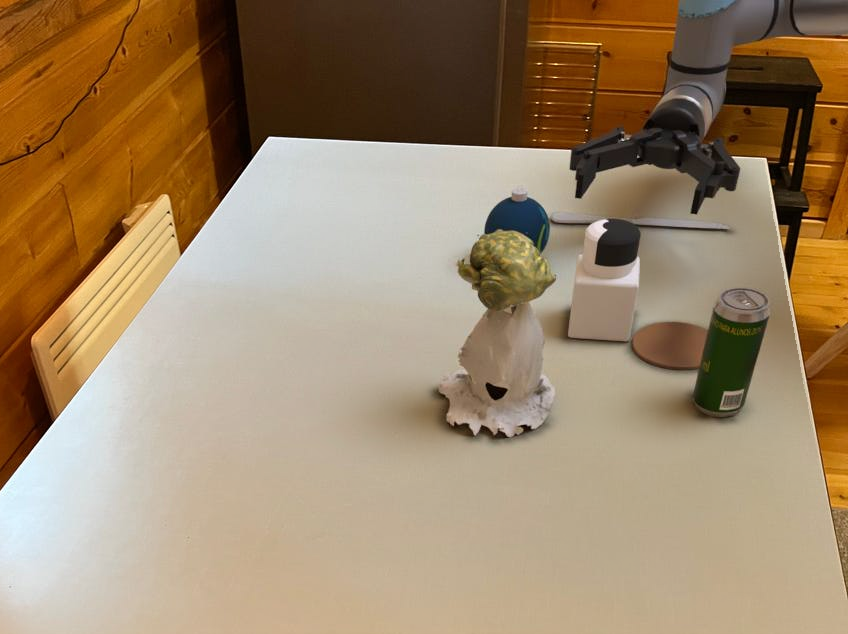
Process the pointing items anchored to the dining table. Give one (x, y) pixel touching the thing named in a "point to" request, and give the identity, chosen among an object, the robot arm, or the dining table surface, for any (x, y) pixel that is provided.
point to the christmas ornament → (520, 218)
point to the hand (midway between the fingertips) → (636, 194)
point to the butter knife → (634, 221)
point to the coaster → (671, 345)
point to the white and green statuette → (502, 338)
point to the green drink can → (731, 351)
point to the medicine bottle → (606, 282)
